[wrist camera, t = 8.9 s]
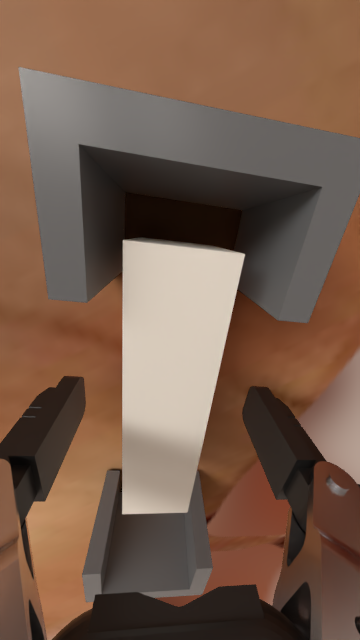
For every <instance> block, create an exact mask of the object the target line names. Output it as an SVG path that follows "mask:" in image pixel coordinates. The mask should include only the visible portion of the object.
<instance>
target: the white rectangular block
mask: <svg viewBox="0 0 360 640" xmlns="http://www.w3.org/2000/svg"><path fill="white" fill-rule="evenodd" d="M244 257H245V254H243V253H239V252H236V251H232V250H228V249H224V248H220V247H216V246H212V245H204V244H196V243H187V242H179V241H170V240H161V239H153V238H144V237H139V238H132V239H126V240H123V381H122V514H152V513H187V512H188V508H189V503H190V499H191V494H192V490H193V486H194V481H195V477H196V472H197V468H198V463H199V459H200V454H201V450H202V445H203V441H204V436H205V432H206V427H207V423H208V418H209V414H210V409H211V405H212V400H213V396H214V391H215V387H216V382H217V378H218V373H219V369H220V364H221V360H222V355H223V351H224V346H225V342H226V337H227V333H228V328H229V324H230V319H231V315H232V310H233V306H234V301H235V297H236V292H237V288H238V283H239V279H240V275H241V270H242V266H243V261H244Z"/></svg>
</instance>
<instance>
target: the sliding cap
mask: <svg viewBox="0 0 360 640" xmlns="http://www.w3.org/2000/svg"><path fill="white" fill-rule="evenodd" d="M212 569H213V566H212V559H211V552H210V545H209V538H208V531H207V524H206V517H205V510H204V503H203V496H202V489H201V482H200V475H199V471H197V472H196V477H195V481H194V486H193V490H192V494H191V499H190V503H189V508H188V512H187V513H152V514H122V492H120V471H107V474H106V478H105V482H104V486H103V491H102V495H101V499H100V503H99V507H98V511H97V515H96V520H95V524H94V528H93V532H92V536H91V540H90V544H89V549H88V553H87V557H86V561H85V565H84V569H83V573H82V577H83V584H84V592H85V599H86V602H94V598H95V595H96V594H112V593H127V592H139V593H142V594H144V595H147V596H150V597H152V598H156V597H172V596H188V595H201V594H202V593H203V591H204V588H205V586H206V584H207V581H208V579H209V576H210V574H211V571H212Z"/></svg>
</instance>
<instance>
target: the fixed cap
mask: <svg viewBox="0 0 360 640" xmlns="http://www.w3.org/2000/svg"><path fill="white" fill-rule="evenodd" d="M19 75H20V83H21V90H22V98H23V106H24V114H25V121H26V129H27V137H28V145H29V152H30V160H31V168H32V175H33V183H34V191H35V199H36V206H37V214H38V222H39V230H40V237H41V245H42V253H43V260H44V268H45V276H46V284H47V291H48V299H52V300H63V301H74V302H85V303H87V302H88V301H90V300H91V299H92V298H93V297H94V296H95V295H96V294H97V293H99V292H100V291H101V290H102V289H103V288H104V287H105V286H106V285H107V284H109V283H110V282H111V281H112V280H113V279H114V278H115V277H116V276H117V275H119V274H120V273H121V272H122V271H123V240H124V237H125V192H126V193H133V194H139V195H146V196H152V197H159V198H165V199H172V200H178V201H185V202H191V203H198V204H204V205H211V206H217V207H224V208H230V209H237V210H242V214H241V219H240V224H239V228H238V233H237V238H236V242H235V247H234V251H236V252H239V253H243V254H245V257H244V261H243V266H242V270H241V275H240V279H239V283H238V288H237V289H238V290H239V291H240V292H242V293H243V294H244V295H246V296H247V297H248V298H250V299H251V300H252V301H253V302H255V303H256V304H257V305H259V306H260V307H261V308H263V309H264V310H265V311H266V312H268V313H269V314H270V315H272V316H273V317H274V318H275V319H277V320H280V321H291V322H301V323H308V322H309V319H310V317H311V314H312V312H313V309H314V307H315V304H316V302H317V299H318V297H319V294H320V292H321V289H322V287H323V284H324V282H325V279H326V277H327V274H328V272H329V269H330V267H331V264H332V262H333V259H334V257H335V254H336V252H337V249H338V247H339V244H340V242H341V239H342V237H343V234H344V232H345V229H346V227H347V224H348V222H349V219H350V217H351V214H352V212H353V209H354V207H355V204H356V202H357V199H358V197H359V194H360V138H357V137H352V136H347V135H342V134H338V133H333V132H328V131H323V130H318V129H314V128H309V127H304V126H299V125H295V124H290V123H285V122H280V121H275V120H271V119H266V118H261V117H256V116H251V115H247V114H242V113H237V112H232V111H228V110H223V109H218V108H213V107H208V106H204V105H199V104H194V103H189V102H184V101H180V100H175V99H170V98H165V97H161V96H156V95H151V94H146V93H141V92H137V91H132V90H127V89H122V88H117V87H113V86H108V85H103V84H98V83H94V82H89V81H84V80H79V79H74V78H70V77H65V76H60V75H55V74H50V73H46V72H41V71H36V70H31V69H27V68H22V67H19Z"/></svg>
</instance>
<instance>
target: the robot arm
mask: <svg viewBox="0 0 360 640" xmlns="http://www.w3.org/2000/svg"><path fill="white" fill-rule="evenodd" d="M85 404H86V401H85V387H84V378H83V377H75V376H64V377H63V378H62V379H61V381H60V382H59V384H58V385H57V387H56V388H53V387H49V388H48V389H46V390H45V391H43V392H42V393H41V394H39V395H38V396H37V397H36V398H35V400H34V401H33V402H32V403H31V405H30V406H29V409H27V410H26V411H25V412H24V414H23V415H22V418H20V419H19V420H18V421H17V423H16V424H15V425H14V427H13V428H12V429H11V430H10V432H9V433H8V434H7V435H6V437H5V438H4V439H3V441H2V442H1V443H0V640H47V637H46V630H45V624H44V618H43V612H42V607H41V602H40V597H39V593H38V588H37V583H36V577H35V570H34V564H33V557H32V551H31V544H30V538H29V531H28V525H27V518H26V516H27V514H28V512H29V510H30V508H31V506H32V504H33V502H34V501H45V500H46V498H47V496H48V494H49V491H50V489H51V487H52V485H53V482H54V480H55V478H56V476H57V473H58V471H59V469H60V467H61V464H62V462H63V460H64V458H65V455H66V453H67V451H68V449H69V446H70V444H71V442H72V440H73V437H74V435H75V433H76V431H77V428H78V426H79V424H80V422H81V419H82V417H83V414H84V411H85ZM242 415H243V421H244V424H245V426H246V429H247V431H248V433H249V436H250V438H251V441H252V443H253V445H254V448H255V450H256V453H257V455H258V457H259V460H260V462H261V465H262V467H263V469H264V472H265V474H266V476H267V479H268V481H269V484H270V486H271V488H272V491H273V493H274V495H275V498H276V499H277V500H278V499H287V500H288V502H289V504H290V506H291V507H290V509H289V511H288V520H287V528H286V536H285V544H284V553H283V561H282V569H281V574H280V577H279V580H278V583H277V586H276V590H275V594H274V599H273V605H272V606H271V605H270V604H268V603H266V602H264V601H262V600H261V599H259V595H258V591H257V587H256V585H239V586H225V587H224V586H223V587H218V588H216V589H214V590H212V591H210V592H208V593H206V594H205V595H203V596H201V597H199V598H197V599H196V600H193V601H192V602H190V603H188V604H186V605H184V606H182V607H177V606H173V605H171V604H168V603H165V602H163V601H160V600H157V599H155V598H152V597H150V596H147V595H144V594H142V593H139V592H127V593H112V594H96V595H95V598H94V603H93V608H92V609H90V610H88V611H86V612H84V613H83V614H81V615H80V616H78V617H77V618H75V619H74V620H72V621H71V622H70V623H69V624H68V625H67V626H65V627H64V628H63V629H62V630H61V631H60V632H59V633H58V634H57V635H56V636H55V637H54V638H53V639H52V640H360V485H359V484H357V483H356V482H355V481H354V479H353V478H352V477H351V476H350V475H349V474H348V473H346V472H345V471H344V470H343V469H341V468H340V467H338V466H336V465H334V464H332V463H330V462H327V461H326V460H325V459H324V457H323V456H322V454H321V453H320V452H319V450H318V449H317V447H316V446H315V444H314V443H313V442H312V440H311V439H310V437H309V436H308V435H307V433H306V432H305V431H304V429H303V428H302V427H301V425H300V423H299V422H298V420H297V419H295V416H294V415H293V413H292V412H291V410H290V409H289V408H288V406H286V405H285V404H284V403H283V402H282V401H281V400H279V399H278V398H275V397H274V395H273V394H272V393H271V391H270V390H269V388H267V387H257V386H251V387H250V389H249V392H248V395H247V398H246V401H245V404H244V407H243V412H242Z"/></svg>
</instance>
